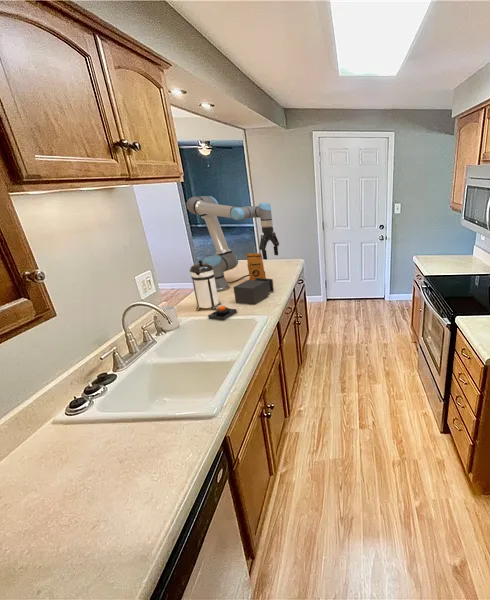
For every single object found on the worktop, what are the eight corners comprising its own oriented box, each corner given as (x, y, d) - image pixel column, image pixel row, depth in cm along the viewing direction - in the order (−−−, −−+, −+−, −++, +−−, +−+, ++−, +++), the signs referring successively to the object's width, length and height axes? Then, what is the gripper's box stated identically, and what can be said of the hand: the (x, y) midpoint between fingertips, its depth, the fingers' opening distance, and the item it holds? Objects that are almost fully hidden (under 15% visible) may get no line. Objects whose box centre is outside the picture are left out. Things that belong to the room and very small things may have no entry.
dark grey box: (250, 294, 225) (248, 279, 221) (268, 296, 222) (266, 281, 218) (235, 302, 211) (233, 286, 207) (254, 304, 207) (252, 288, 204)
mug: (173, 331, 171) (169, 311, 168) (156, 331, 172) (151, 311, 168) (185, 322, 183) (181, 303, 179) (169, 322, 183) (165, 303, 179)
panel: (222, 311, 198) (221, 304, 196) (236, 312, 195) (236, 306, 194) (208, 318, 187) (207, 312, 185) (223, 320, 184) (222, 314, 183)
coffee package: (264, 282, 251) (261, 254, 244) (248, 283, 250) (244, 254, 243) (267, 278, 261) (264, 251, 253) (251, 279, 260) (247, 252, 252)
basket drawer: (261, 287, 236) (259, 276, 233) (277, 289, 233) (275, 277, 230) (245, 296, 219) (243, 283, 216) (262, 298, 216) (260, 285, 213)
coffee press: (227, 306, 204) (220, 259, 194) (201, 314, 193) (191, 264, 183) (215, 300, 216) (207, 255, 205) (190, 306, 205) (180, 259, 194)
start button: (221, 308, 192) (221, 305, 192) (227, 309, 191) (226, 306, 191) (216, 310, 188) (216, 308, 188) (222, 311, 188) (222, 308, 187)
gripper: (260, 229, 211) (264, 261, 219) (282, 224, 234) (285, 253, 241) (250, 229, 214) (255, 260, 221) (273, 224, 236) (276, 253, 243)
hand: (270, 257), depth 231 cm, fingers open, 13 cm apart
